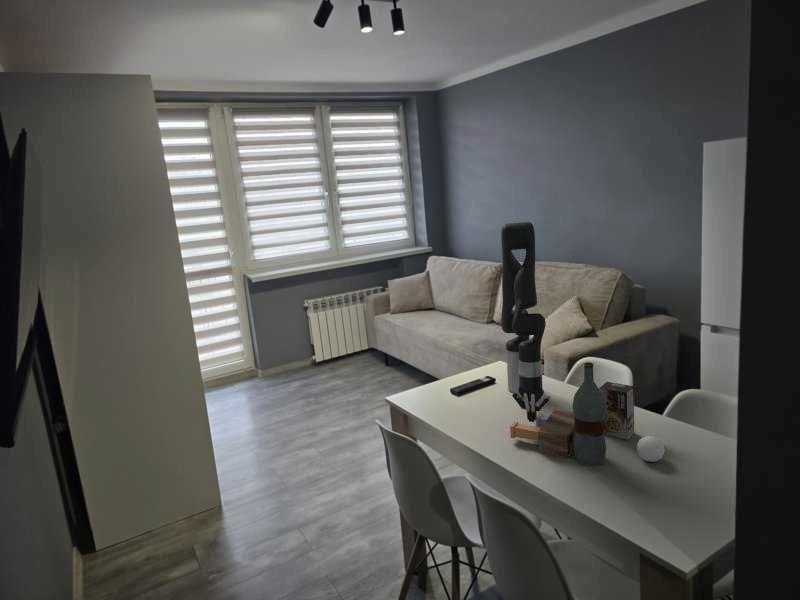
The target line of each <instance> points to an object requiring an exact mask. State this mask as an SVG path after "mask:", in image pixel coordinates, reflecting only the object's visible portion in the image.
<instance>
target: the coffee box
mask: <svg viewBox="0 0 800 600" xmlns="http://www.w3.org/2000/svg"><path fill="white" fill-rule="evenodd" d="M598 388H599V389H600V391H601V392H602V394H603V396H604V399H605V405H606V413H605V424H604V435H606V436H611V437H615V438H619V439H622V440H629V439H630V438H631V437H632V436H633V435H634V434H635V386H634V385H629V384H622V383H618V382H611V381H606V382H604V383H603V384H602V385H601V386H600V387H598Z"/></svg>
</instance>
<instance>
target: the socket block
mask: <svg viewBox="0 0 800 600" xmlns="http://www.w3.org/2000/svg"><path fill="white" fill-rule="evenodd" d="M548 416H549V417H548V419H547V420H546V421H545V423H544V424H543V425H542V427H541V428H540V429H539V431H538V441H537V443H538V444H537V445H538V453H541V454H545V455H551V456H556V457H561V458H569V457H570V455H571V453H572V452H573V451H574V436H575V421H574V412H573V411H570V410H563V409H558V408H557V409H556V408H555V409H554V410H553V411H552V412H551V413H550V415H548Z"/></svg>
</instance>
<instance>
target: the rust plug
mask: <svg viewBox="0 0 800 600" xmlns="http://www.w3.org/2000/svg"><path fill="white" fill-rule="evenodd" d="M539 429H540V427H536V425H535V426H533V425H528V424H523V423H522V424H521V423H519V422H518V421H513V422H512V424H511V425H510V426H509V432H510V434H509V435H510V439H515V438H519V439H524V440H530V441H536V442H538V431H539Z"/></svg>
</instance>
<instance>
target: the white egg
mask: <svg viewBox="0 0 800 600" xmlns="http://www.w3.org/2000/svg"><path fill="white" fill-rule="evenodd" d="M634 440H635V441H637V445H636V450H637V453H638V455H639V457H641V459H643V460H645V461H646V462H651V463H654V462H658V461H660V460H662V458H663V457H664V454H665V446H664V444H663V442H662V440H660V439H659V438H658V437H656V436H653V435H647V436H643V437H641V438H640V439H638V440H637V439H634Z"/></svg>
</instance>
